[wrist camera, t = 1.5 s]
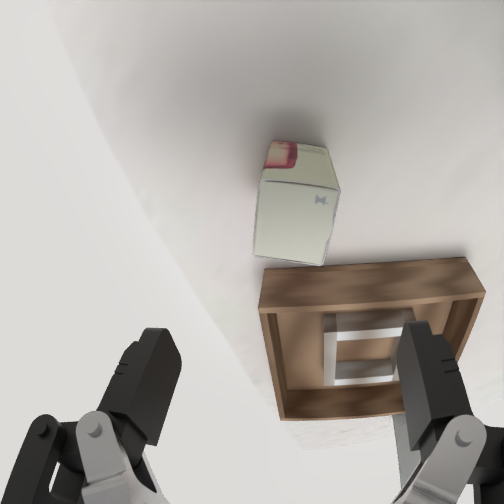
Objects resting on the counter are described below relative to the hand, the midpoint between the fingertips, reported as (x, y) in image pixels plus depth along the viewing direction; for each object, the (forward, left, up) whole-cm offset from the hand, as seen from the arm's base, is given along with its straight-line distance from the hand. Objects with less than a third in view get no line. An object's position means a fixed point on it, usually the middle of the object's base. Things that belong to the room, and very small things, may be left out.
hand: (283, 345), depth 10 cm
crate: (-6, +18, -16) cm, 25 cm away
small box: (0, 0, -16) cm, 16 cm away
